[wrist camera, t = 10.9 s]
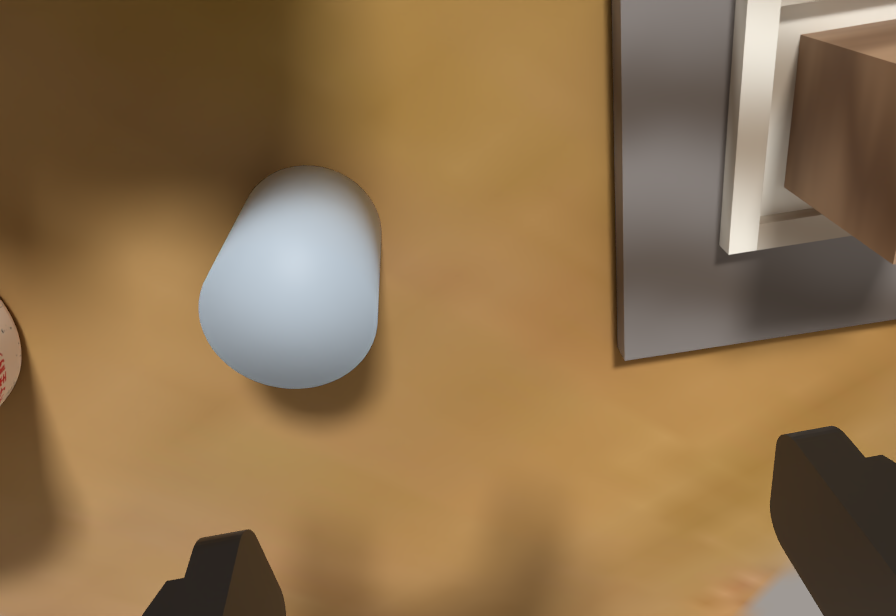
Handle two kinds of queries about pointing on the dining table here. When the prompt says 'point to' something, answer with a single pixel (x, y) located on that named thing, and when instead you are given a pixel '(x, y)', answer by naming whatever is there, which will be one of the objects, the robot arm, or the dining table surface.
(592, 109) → the dining table surface
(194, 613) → the robot arm
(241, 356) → the pale blue rounded ovoid
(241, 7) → the dining table surface
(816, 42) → the walnut block
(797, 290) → the building board
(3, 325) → the teacup with lid
